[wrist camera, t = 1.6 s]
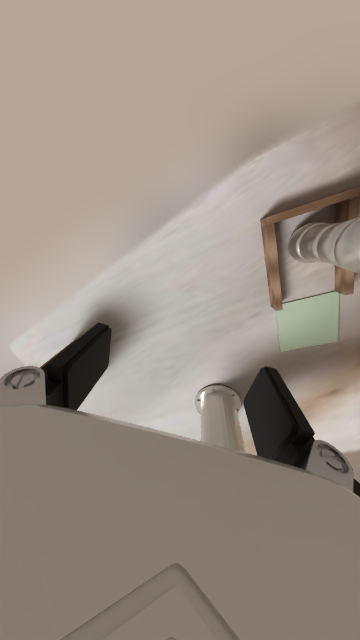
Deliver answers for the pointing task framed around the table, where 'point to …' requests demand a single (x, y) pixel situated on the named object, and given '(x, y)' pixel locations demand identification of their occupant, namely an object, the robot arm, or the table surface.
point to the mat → (308, 322)
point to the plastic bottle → (328, 244)
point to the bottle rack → (344, 212)
